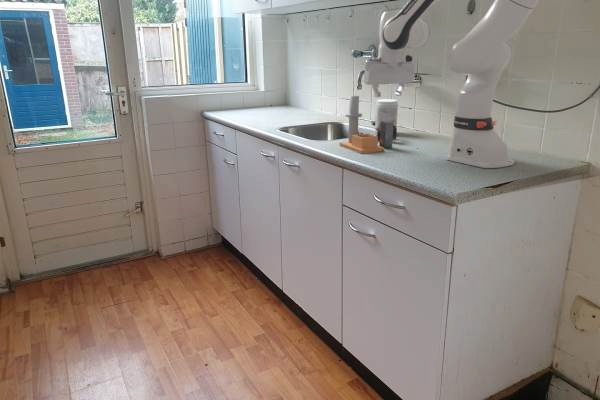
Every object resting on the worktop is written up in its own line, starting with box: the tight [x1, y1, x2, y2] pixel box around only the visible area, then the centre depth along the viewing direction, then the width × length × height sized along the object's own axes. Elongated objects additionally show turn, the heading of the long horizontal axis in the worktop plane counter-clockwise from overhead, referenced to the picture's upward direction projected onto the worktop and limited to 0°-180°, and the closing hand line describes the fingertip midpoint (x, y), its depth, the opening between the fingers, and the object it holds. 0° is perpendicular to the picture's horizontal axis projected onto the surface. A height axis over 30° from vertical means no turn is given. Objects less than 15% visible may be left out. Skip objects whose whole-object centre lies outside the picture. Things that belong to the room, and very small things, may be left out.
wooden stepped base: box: [339, 95, 385, 154], centre depth 170 cm, size 17×10×19 cm, turn 24°
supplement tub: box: [374, 98, 399, 134], centre depth 200 cm, size 10×10×15 cm
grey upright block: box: [378, 121, 394, 150], centre depth 172 cm, size 4×4×10 cm
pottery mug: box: [375, 125, 398, 142], centre depth 186 cm, size 12×10×8 cm
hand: (388, 96), depth 167 cm, fingers open, 8 cm apart
